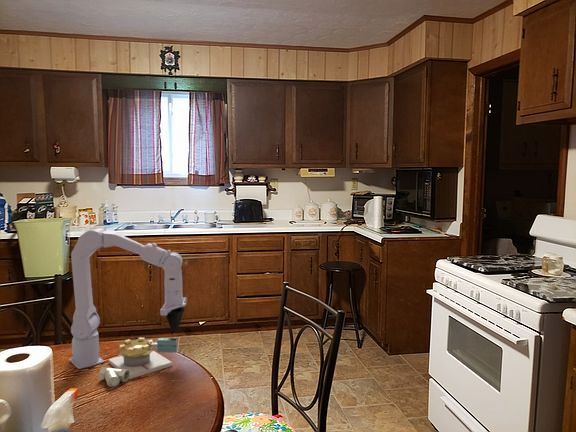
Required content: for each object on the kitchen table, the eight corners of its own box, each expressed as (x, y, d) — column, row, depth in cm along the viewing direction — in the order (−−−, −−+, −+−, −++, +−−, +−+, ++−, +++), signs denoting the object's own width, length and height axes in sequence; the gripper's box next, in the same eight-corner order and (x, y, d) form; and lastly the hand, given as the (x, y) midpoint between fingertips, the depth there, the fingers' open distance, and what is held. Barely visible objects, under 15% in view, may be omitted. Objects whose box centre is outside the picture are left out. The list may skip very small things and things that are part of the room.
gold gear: (114, 357, 140) (114, 344, 140) (127, 345, 150) (127, 333, 150) (172, 358, 139) (171, 345, 139) (181, 346, 149) (180, 333, 149)
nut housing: (108, 362, 147) (108, 350, 147) (149, 351, 157) (149, 339, 156) (129, 379, 135) (128, 365, 135) (171, 365, 145) (171, 353, 144)
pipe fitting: (117, 391, 129) (130, 379, 136) (115, 378, 129) (129, 366, 135) (92, 388, 131) (106, 376, 138) (91, 375, 131) (105, 364, 137)
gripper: (174, 296, 140) (175, 339, 142) (194, 285, 154) (195, 324, 156) (153, 295, 142) (155, 337, 143) (175, 284, 156) (176, 322, 157)
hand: (174, 330), depth 150 cm, fingers closed
